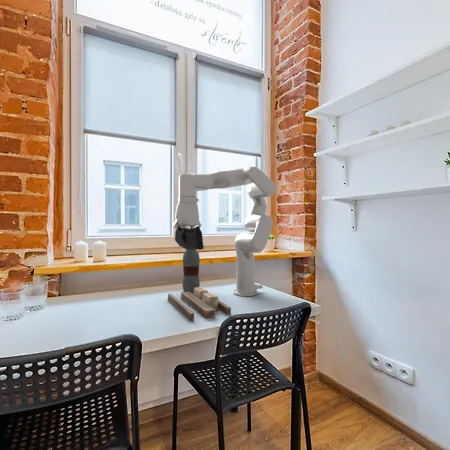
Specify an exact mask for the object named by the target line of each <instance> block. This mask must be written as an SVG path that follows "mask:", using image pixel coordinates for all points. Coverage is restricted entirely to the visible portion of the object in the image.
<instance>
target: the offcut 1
mask: <svg viewBox="0 0 450 450" xmlns="http://www.w3.org/2000/svg"><path fill="white" fill-rule="evenodd" d="M208 292H209V290H207V289H206V288H204V287H203V286H199V287H197V288H194V293H193V295H195V296H196V297H197V298H199V299H200V300H202V293H208Z"/></svg>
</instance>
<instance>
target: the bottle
mask: <svg viewBox="0 0 450 450" xmlns="http://www.w3.org/2000/svg"><path fill="white" fill-rule="evenodd" d="M200 260H201V259H200V254H199V251H198V249H195V250H187V249H185V250H184V252H183V255H182V270H183V276H182V278H183V279H182V290H183V292H190V293H192V294H194V288H197V287H201V286H200V285H201V280H200V275H199V272H200V263H201V262H200Z"/></svg>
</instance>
